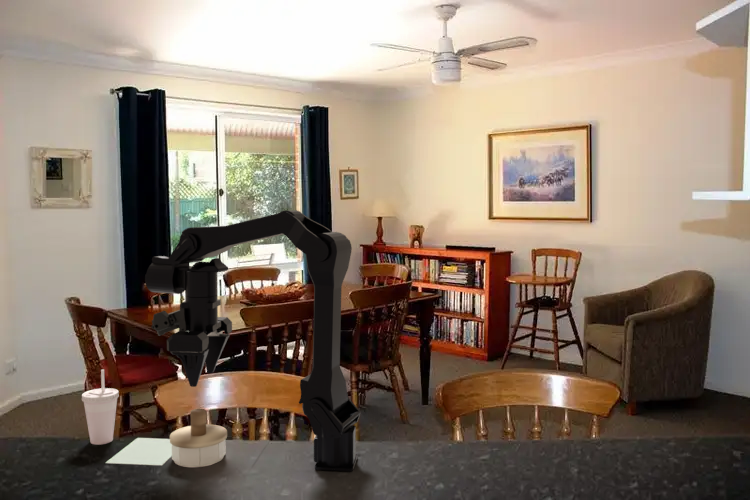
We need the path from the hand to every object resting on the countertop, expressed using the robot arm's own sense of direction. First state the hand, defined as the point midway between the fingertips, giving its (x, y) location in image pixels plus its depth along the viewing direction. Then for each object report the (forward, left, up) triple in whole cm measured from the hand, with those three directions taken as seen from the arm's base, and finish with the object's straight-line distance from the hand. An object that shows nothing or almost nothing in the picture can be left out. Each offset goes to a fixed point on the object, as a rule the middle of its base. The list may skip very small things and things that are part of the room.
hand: (202, 379), depth 120 cm
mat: (+8, +5, -12) cm, 16 cm away
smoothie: (+19, +1, -13) cm, 23 cm away
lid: (-2, +7, -8) cm, 11 cm away
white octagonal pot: (-2, +7, -12) cm, 15 cm away
